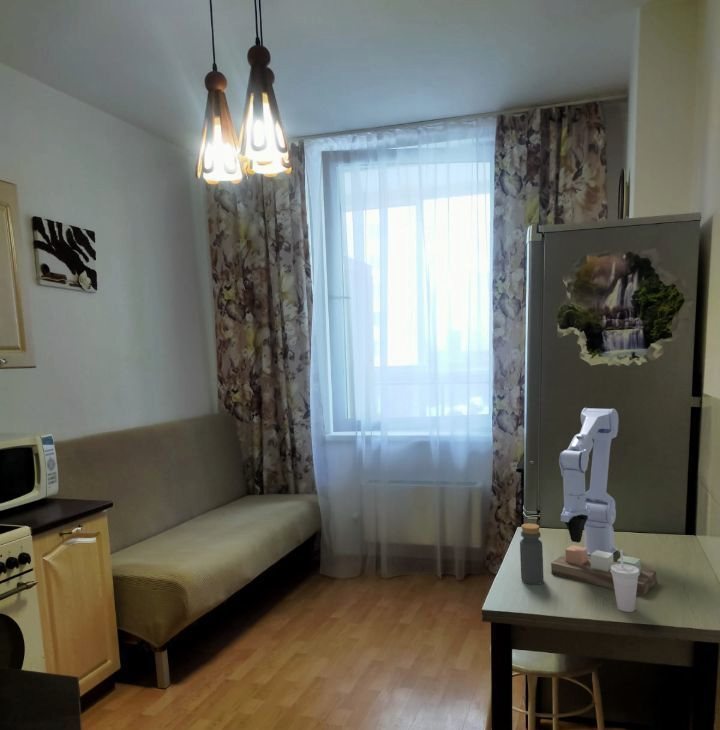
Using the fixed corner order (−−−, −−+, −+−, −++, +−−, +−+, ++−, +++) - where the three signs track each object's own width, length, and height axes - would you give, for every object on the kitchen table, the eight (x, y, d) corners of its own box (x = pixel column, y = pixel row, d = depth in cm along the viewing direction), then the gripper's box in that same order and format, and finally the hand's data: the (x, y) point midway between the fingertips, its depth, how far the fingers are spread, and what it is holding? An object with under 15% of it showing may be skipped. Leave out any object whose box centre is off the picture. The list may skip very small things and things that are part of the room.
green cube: (623, 570, 153) (623, 555, 153) (641, 574, 150) (640, 559, 150) (617, 575, 150) (617, 560, 150) (635, 579, 147) (635, 563, 147)
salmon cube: (572, 558, 163) (571, 545, 163) (587, 562, 160) (587, 548, 160) (565, 563, 160) (565, 549, 160) (581, 567, 157) (581, 552, 156)
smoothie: (615, 600, 141) (613, 544, 141) (643, 606, 137) (642, 549, 137) (608, 610, 136) (606, 551, 136) (637, 617, 132) (635, 557, 132)
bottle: (533, 586, 151) (531, 530, 151) (516, 579, 156) (514, 525, 156) (548, 581, 154) (546, 526, 154) (530, 574, 159) (529, 521, 159)
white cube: (597, 564, 158) (596, 550, 158) (613, 568, 155) (613, 553, 155) (591, 569, 155) (590, 554, 155) (607, 573, 152) (607, 558, 152)
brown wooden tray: (568, 562, 167) (567, 551, 167) (656, 582, 151) (656, 570, 151) (551, 573, 159) (551, 562, 159) (643, 596, 143) (642, 584, 143)
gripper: (578, 500, 151) (579, 551, 151) (598, 489, 162) (600, 537, 162) (552, 496, 156) (554, 546, 156) (574, 486, 167) (575, 532, 167)
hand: (576, 541), depth 160 cm, fingers closed
